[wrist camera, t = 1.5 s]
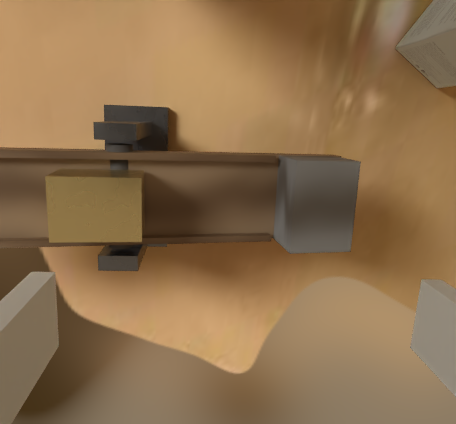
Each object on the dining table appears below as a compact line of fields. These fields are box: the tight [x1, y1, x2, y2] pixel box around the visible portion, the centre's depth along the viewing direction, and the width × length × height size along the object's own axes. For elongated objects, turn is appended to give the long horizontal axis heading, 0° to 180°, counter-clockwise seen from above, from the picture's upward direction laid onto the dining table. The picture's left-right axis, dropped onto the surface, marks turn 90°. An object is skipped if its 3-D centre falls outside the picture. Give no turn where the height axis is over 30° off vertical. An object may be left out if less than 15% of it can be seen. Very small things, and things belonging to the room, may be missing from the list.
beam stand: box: [94, 105, 168, 271], centre depth 36 cm, size 14×6×12 cm, turn 178°
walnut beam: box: [0, 143, 361, 254], centre depth 30 cm, size 8×36×6 cm, turn 88°
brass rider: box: [45, 168, 145, 243], centre depth 29 cm, size 4×6×4 cm
